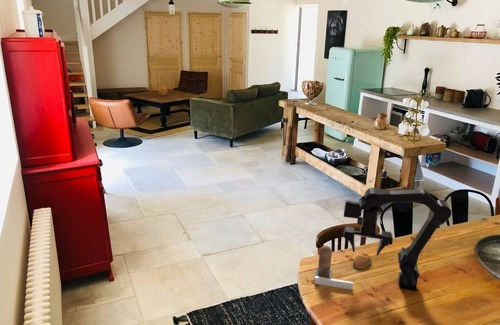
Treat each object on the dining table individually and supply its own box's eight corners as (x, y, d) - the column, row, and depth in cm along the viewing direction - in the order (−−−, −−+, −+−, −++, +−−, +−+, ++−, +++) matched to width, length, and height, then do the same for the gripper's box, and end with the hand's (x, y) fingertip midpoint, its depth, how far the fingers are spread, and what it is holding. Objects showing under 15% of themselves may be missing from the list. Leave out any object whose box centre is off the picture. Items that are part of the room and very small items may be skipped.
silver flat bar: (352, 288, 162) (353, 282, 161) (352, 289, 161) (352, 283, 160) (314, 282, 166) (315, 276, 165) (314, 283, 165) (315, 277, 164)
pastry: (362, 272, 173) (363, 264, 172) (348, 265, 177) (349, 258, 176) (372, 263, 180) (373, 255, 178) (358, 257, 184) (359, 250, 183)
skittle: (331, 273, 171) (334, 246, 166) (325, 279, 167) (328, 251, 162) (321, 269, 173) (323, 242, 169) (315, 274, 170) (317, 246, 165)
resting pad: (332, 271, 173) (332, 270, 173) (331, 281, 166) (331, 280, 166) (315, 269, 174) (315, 268, 174) (314, 278, 168) (314, 277, 168)
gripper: (392, 213, 165) (387, 246, 170) (346, 208, 169) (342, 240, 174) (395, 226, 154) (389, 261, 160) (345, 220, 159) (341, 254, 164)
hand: (365, 253), depth 165 cm, fingers open, 9 cm apart
